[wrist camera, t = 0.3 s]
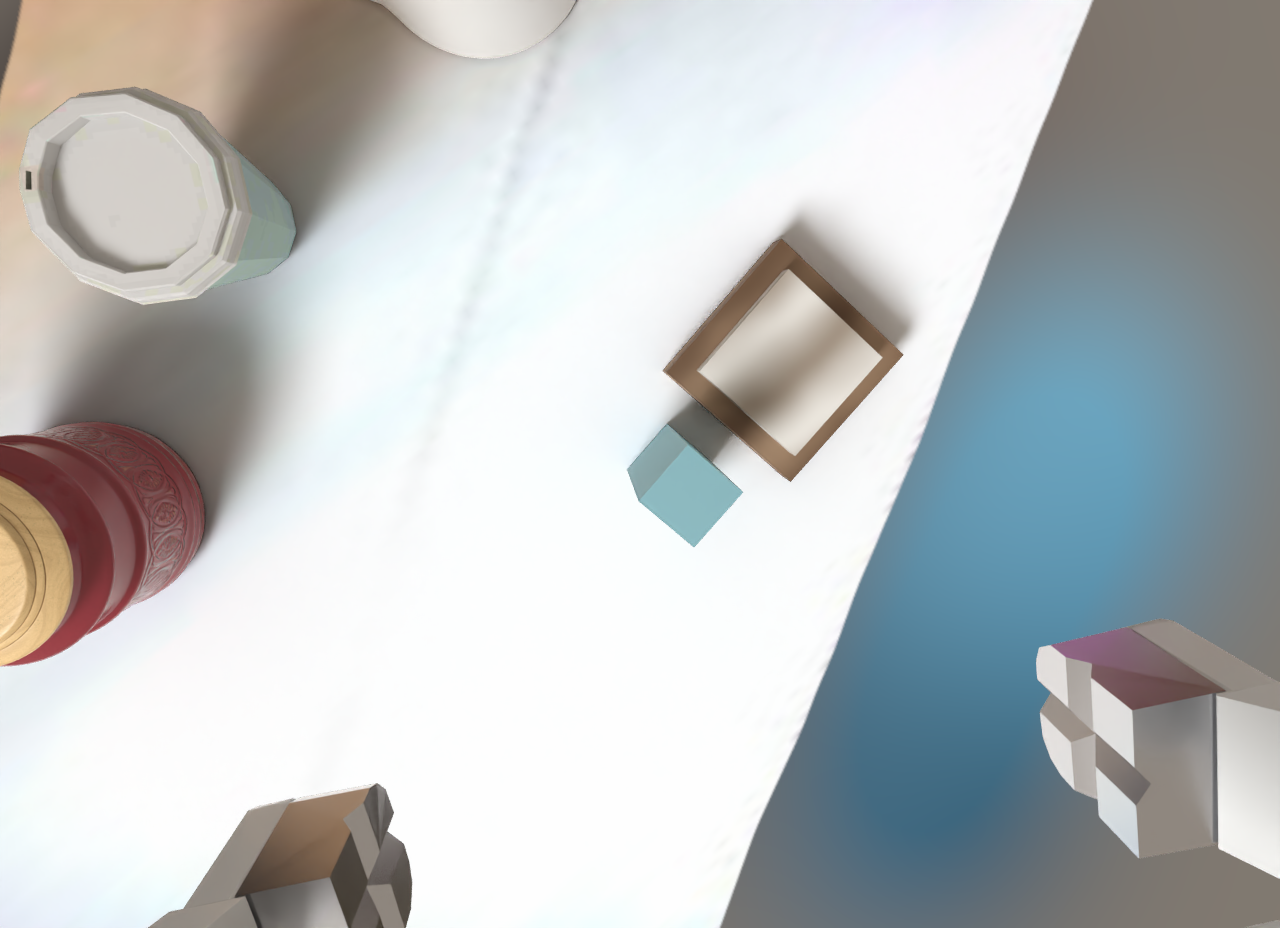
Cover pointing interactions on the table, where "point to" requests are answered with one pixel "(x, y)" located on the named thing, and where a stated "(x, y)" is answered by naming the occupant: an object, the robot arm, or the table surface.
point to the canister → (87, 531)
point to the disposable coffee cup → (149, 198)
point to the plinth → (732, 315)
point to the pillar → (681, 485)
